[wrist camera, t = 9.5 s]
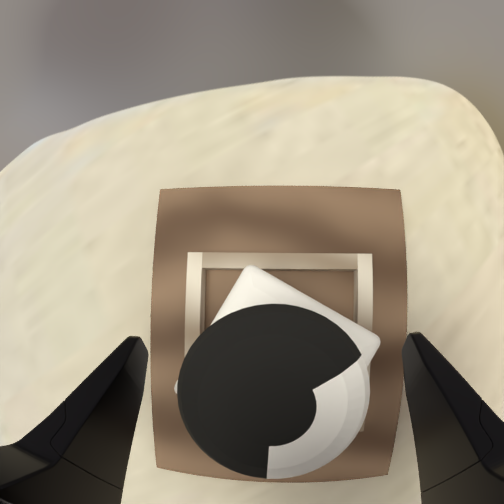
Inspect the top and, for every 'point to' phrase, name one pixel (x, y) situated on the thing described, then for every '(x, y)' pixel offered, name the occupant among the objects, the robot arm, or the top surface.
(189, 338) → the walnut stand
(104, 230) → the top surface
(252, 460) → the medicine bottle
